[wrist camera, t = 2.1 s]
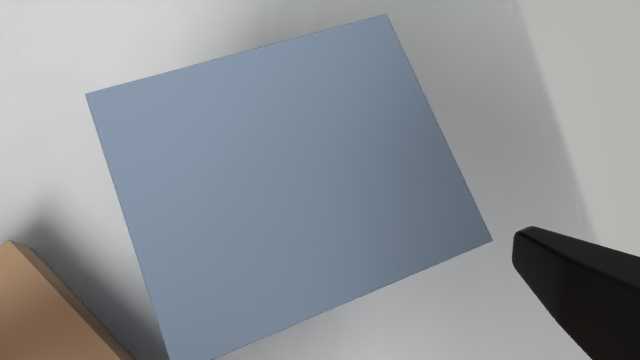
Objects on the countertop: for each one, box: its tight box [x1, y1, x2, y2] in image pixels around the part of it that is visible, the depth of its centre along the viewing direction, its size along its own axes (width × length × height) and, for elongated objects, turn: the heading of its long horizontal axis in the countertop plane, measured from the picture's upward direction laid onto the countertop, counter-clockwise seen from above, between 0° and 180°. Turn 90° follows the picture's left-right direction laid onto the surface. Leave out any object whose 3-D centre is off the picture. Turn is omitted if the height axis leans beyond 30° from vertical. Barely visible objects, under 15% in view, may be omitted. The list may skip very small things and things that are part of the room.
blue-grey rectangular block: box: [85, 14, 493, 360], centre depth 15 cm, size 6×5×12 cm
